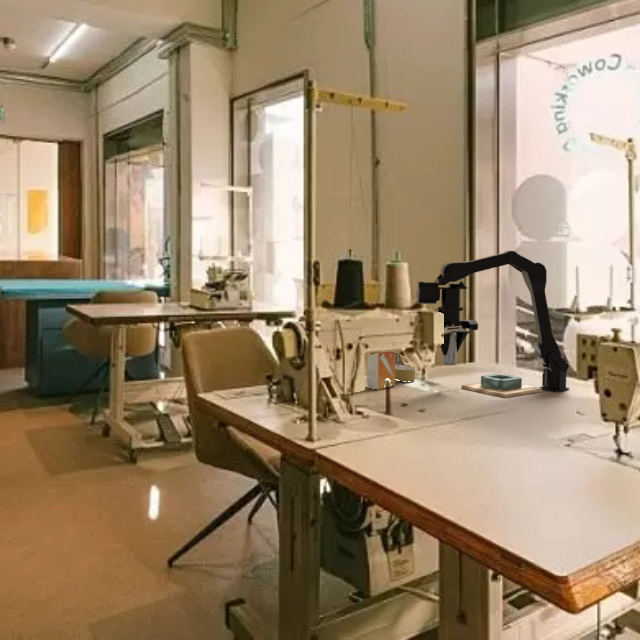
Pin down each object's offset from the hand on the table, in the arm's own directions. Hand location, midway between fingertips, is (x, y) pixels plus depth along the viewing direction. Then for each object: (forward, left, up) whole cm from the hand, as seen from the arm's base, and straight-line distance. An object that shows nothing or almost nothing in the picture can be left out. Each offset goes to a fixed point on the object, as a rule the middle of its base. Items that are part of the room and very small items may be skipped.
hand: (449, 354), depth 229 cm
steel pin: (0, 0, -3) cm, 3 cm away
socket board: (-9, -13, -11) cm, 19 cm away
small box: (+16, +15, -11) cm, 25 cm away
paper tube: (+20, +1, -11) cm, 23 cm away
